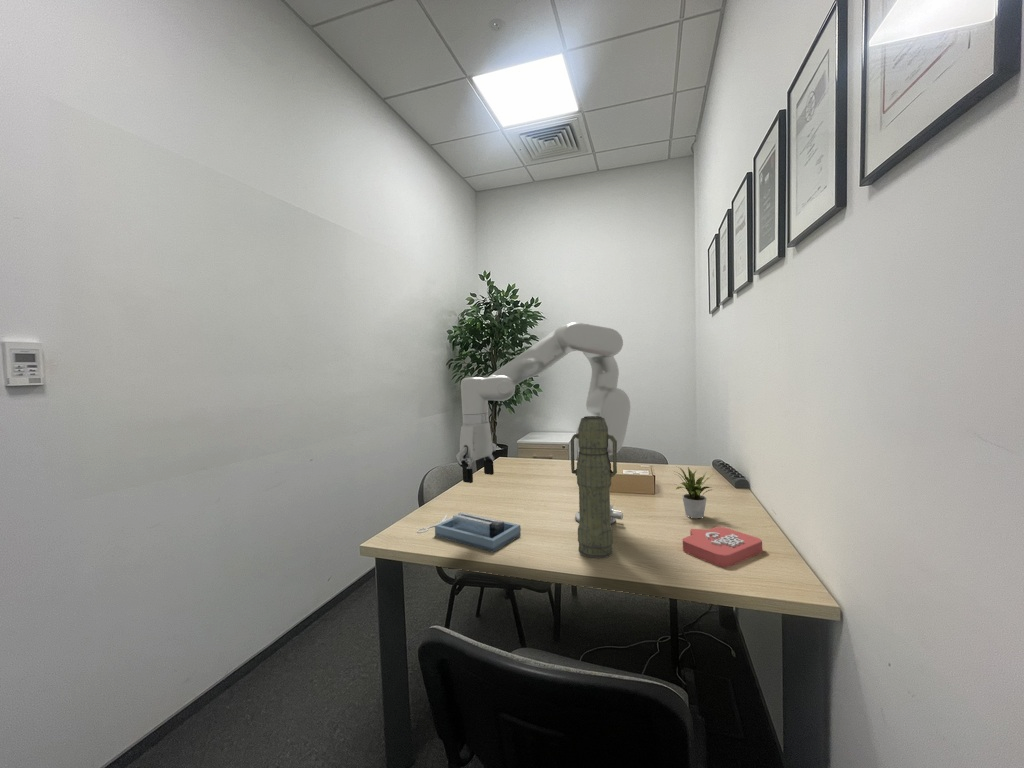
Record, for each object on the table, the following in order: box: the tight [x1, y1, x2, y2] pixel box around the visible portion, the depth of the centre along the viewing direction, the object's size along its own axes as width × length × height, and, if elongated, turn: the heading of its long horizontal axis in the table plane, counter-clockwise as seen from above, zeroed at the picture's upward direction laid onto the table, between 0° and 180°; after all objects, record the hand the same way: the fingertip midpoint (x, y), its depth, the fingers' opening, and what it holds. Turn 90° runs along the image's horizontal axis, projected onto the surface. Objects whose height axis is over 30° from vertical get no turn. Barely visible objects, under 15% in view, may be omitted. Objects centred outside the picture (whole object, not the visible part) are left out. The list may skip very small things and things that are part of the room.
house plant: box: [673, 465, 717, 519], centre depth 127 cm, size 14×14×16 cm
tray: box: [434, 512, 522, 553], centre depth 114 cm, size 21×13×3 cm, turn 56°
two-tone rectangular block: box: [452, 511, 505, 538], centre depth 114 cm, size 16×4×4 cm, turn 56°
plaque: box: [682, 526, 763, 568], centre depth 102 cm, size 18×4×15 cm
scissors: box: [416, 513, 458, 534], centre depth 125 cm, size 11×1×20 cm
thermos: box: [570, 415, 618, 559], centre depth 102 cm, size 9×12×35 cm
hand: (478, 478), depth 114 cm, fingers open, 9 cm apart
